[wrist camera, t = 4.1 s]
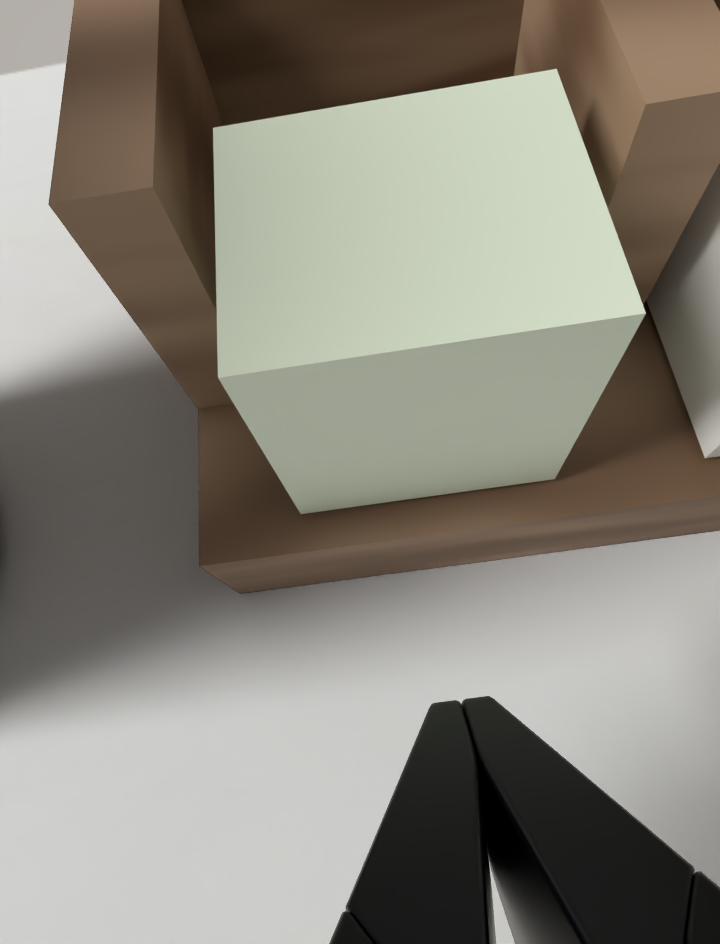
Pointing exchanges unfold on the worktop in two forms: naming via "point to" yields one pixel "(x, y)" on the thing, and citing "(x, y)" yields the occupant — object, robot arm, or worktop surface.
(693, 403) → the plain key
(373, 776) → the worktop surface
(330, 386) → the light green block
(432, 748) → the robot arm
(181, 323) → the wooden desk organizer
